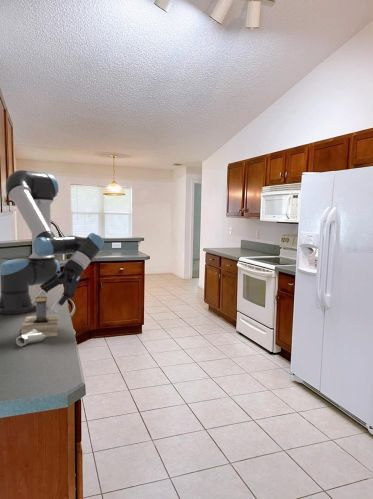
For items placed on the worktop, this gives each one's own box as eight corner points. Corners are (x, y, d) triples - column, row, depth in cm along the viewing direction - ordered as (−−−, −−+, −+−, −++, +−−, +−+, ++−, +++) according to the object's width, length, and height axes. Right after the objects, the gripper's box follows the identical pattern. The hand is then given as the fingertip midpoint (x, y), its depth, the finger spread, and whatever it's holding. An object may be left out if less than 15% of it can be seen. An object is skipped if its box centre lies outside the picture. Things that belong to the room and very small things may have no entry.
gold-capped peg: (36, 329, 135) (35, 296, 134) (48, 328, 137) (47, 296, 135) (34, 333, 131) (34, 299, 130) (47, 332, 132) (46, 299, 131)
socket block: (26, 326, 139) (26, 316, 138) (58, 324, 142) (58, 315, 142) (21, 338, 125) (21, 327, 125) (57, 335, 129) (56, 325, 129)
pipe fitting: (46, 341, 125) (29, 338, 126) (47, 330, 125) (30, 327, 126) (34, 349, 117) (15, 346, 118) (34, 338, 117) (16, 335, 118)
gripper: (101, 274, 138) (68, 319, 128) (65, 267, 153) (33, 307, 143) (90, 262, 133) (54, 308, 123) (53, 256, 148) (19, 296, 138)
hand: (43, 307), depth 133 cm, fingers open, 13 cm apart
